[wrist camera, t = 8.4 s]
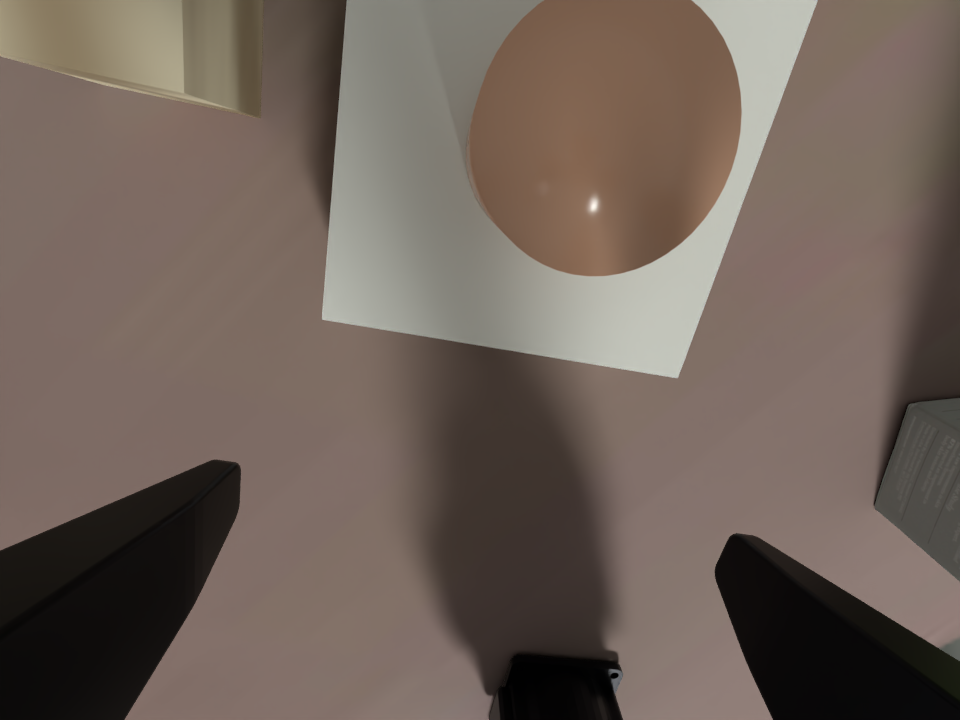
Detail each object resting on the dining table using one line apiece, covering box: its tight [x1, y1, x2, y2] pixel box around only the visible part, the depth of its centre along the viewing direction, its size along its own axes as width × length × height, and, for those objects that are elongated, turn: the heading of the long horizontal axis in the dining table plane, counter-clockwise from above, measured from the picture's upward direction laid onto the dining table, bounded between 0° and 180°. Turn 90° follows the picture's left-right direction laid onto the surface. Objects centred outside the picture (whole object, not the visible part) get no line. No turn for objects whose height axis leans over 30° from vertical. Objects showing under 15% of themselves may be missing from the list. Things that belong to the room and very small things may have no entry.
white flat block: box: [322, 0, 818, 378], centre depth 15 cm, size 12×12×4 cm
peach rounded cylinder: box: [465, 0, 742, 276], centre depth 11 cm, size 5×5×5 cm
